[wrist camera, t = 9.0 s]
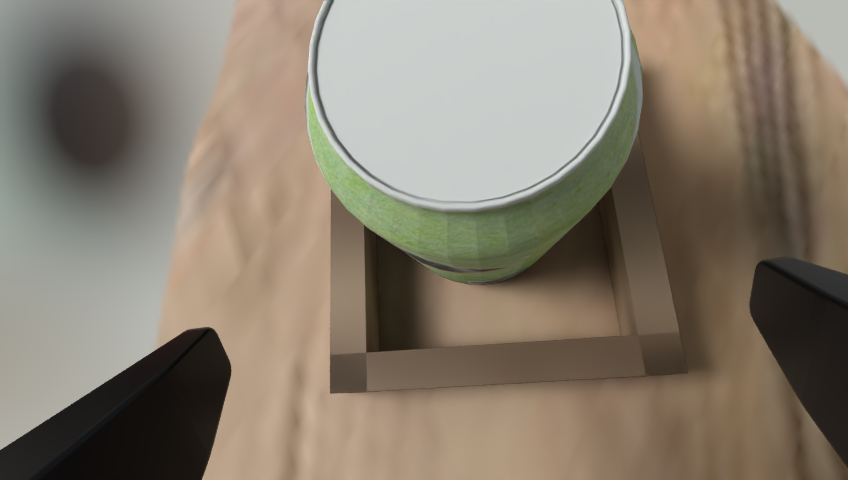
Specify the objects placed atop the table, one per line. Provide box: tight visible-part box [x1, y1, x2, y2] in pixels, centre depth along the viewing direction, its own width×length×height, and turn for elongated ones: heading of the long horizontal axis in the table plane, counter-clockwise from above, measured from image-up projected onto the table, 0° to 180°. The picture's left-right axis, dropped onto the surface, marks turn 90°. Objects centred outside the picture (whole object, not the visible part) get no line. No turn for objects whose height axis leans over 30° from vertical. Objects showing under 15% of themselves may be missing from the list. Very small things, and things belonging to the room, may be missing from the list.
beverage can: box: [305, 0, 643, 284], centre depth 13 cm, size 6×7×12 cm
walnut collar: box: [330, 132, 688, 393], centre depth 18 cm, size 12×11×2 cm
